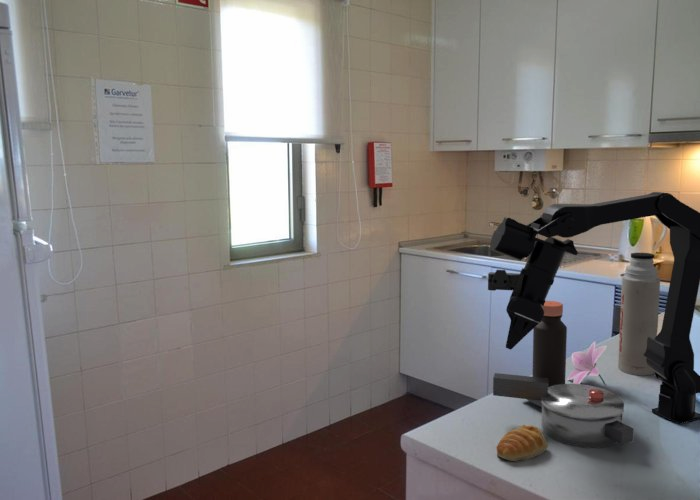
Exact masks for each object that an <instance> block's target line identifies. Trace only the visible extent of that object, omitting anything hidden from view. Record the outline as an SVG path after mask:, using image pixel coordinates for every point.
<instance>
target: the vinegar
mask: <svg viewBox="0 0 700 500" xmlns="http://www.w3.org/2000/svg"><path fill="white" fill-rule="evenodd" d="M542 307H543V309H544V315H543V317H542V320H541V322H539V324H538V325H537V326H536V327H534V328H533V329H532V331H533V334H532V336H533V337H532V342H533V343H532V376H531V377H540V378H548V387H550V386H553V385H559V384H566V374H567V372H566V369H567V367H566V366H567V341H568V340H567V336H568V335H567V333H568V327H567V325H565V323H564V322H563V321H562V318H563V312H564V311H563V310H564V304H563V303H562V302H559V301H556V300H555V301H554V300H545V303H544V306H542Z"/></svg>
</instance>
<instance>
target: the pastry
mask: <svg viewBox="0 0 700 500" xmlns="http://www.w3.org/2000/svg"><path fill="white" fill-rule="evenodd" d="M548 447H549V443H548V442H547V440H546V437H545V436H544V435H543V432H542V431H541V430H540V429H539V428H538V427H537V426H534V425H530V424H529V425H526V424H523V425H521V426H519V427H518V428H515V429H511V430H509V431H507V433H506V434H504V436H503V437H502V438H501V439H500V440H499V442H498V444H497V445H496V455H497V457H500V458H502V459H504V460H507V461H510V462H518V461H523V460H524V461H525V460H531V459H532V458H534V457H536V456H539V455H541V454H543V453H544V452H546V450H547V449H548Z"/></svg>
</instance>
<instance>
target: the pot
mask: <svg viewBox="0 0 700 500" xmlns="http://www.w3.org/2000/svg"><path fill="white" fill-rule="evenodd" d="M526 400H527V401H528V402H531V403H532V404H534V405H536V406H537V407H538V406H539V407H541V429H542V431H543V432H544V433H545V435H547V436H548V437H550V438H551V439H553V440H556V441H557V442H560V443H563V444H565V445H570V446H572V447H573V446H574V447H579V448H586V449H588V448H589V449H599V448H607V447H611V446H614V445H617V444H618V445H619V446H620V445H621V446H623V445H626V444H631V443H632V442H634V433H635V432H634V430H635V428H634V427H631V426H629V425H628V424H625V423H623V413H622V414H621V415H620V416H618V417H616V418H613V419H609V420H599V421H591V420H580V419H574V418H569V417H565V416H562V415H559V414H556V413H554V412H552V411H550V410H549V409H547V408H546V407H545V406H544V405H543V404H542V402H541V401H539V400H530V399H526Z"/></svg>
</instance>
